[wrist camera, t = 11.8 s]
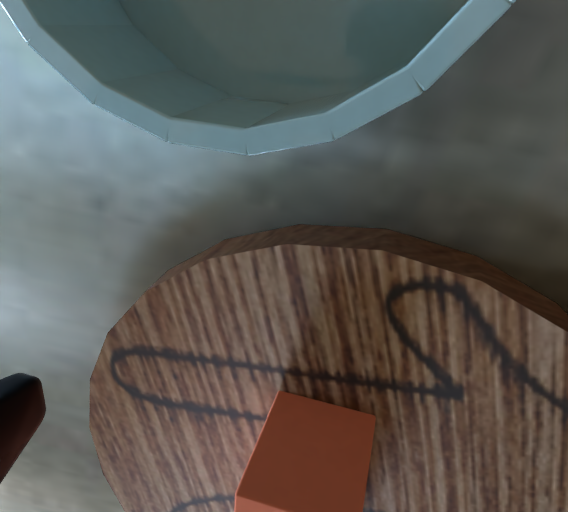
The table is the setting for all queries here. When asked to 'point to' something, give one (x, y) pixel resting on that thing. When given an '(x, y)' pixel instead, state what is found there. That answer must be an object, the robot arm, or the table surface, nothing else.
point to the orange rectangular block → (308, 459)
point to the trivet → (338, 372)
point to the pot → (251, 62)
